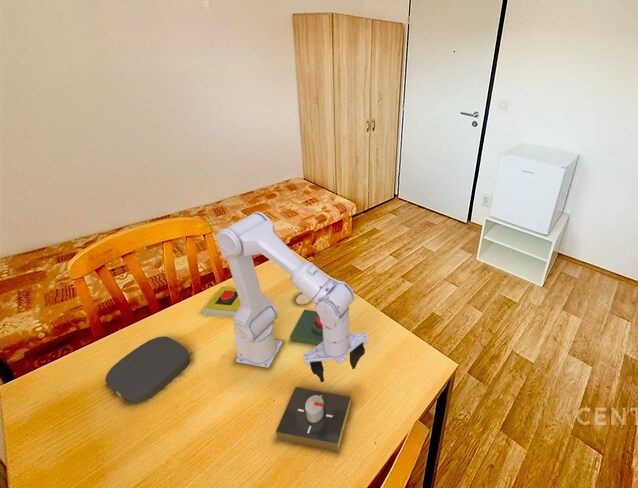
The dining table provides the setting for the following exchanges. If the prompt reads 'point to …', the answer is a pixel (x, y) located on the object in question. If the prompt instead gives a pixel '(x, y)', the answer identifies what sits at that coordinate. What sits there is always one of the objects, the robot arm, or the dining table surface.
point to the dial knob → (314, 408)
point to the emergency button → (223, 303)
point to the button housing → (307, 329)
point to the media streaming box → (147, 369)
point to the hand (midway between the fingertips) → (337, 371)
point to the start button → (319, 322)
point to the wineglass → (302, 299)
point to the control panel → (320, 432)
